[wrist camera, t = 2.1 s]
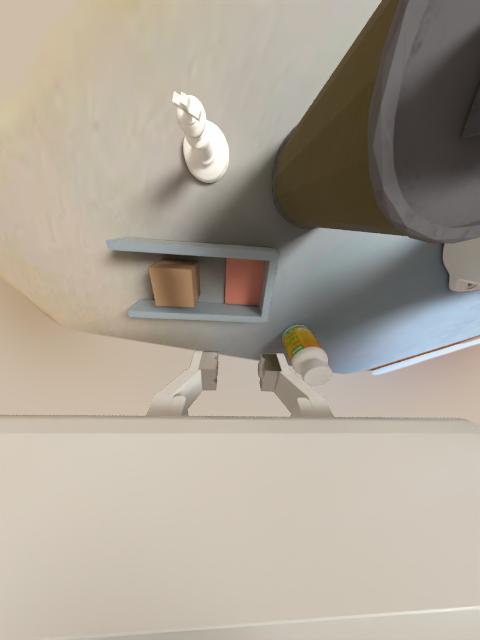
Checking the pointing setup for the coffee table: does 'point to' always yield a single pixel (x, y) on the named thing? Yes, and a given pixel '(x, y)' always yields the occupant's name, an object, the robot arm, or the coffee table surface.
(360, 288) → the coffee table surface
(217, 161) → the chess piece
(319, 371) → the supplement bottle
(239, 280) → the channel
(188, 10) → the coffee table surface
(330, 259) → the coffee table surface
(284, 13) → the coffee table surface
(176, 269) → the walnut cube
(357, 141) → the canister
